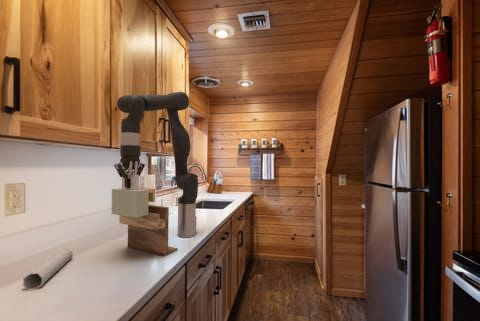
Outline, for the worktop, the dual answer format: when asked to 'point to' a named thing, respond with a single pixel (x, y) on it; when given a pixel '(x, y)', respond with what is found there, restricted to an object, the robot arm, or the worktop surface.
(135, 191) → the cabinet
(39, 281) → the tube
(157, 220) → the wall board
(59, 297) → the worktop surface
